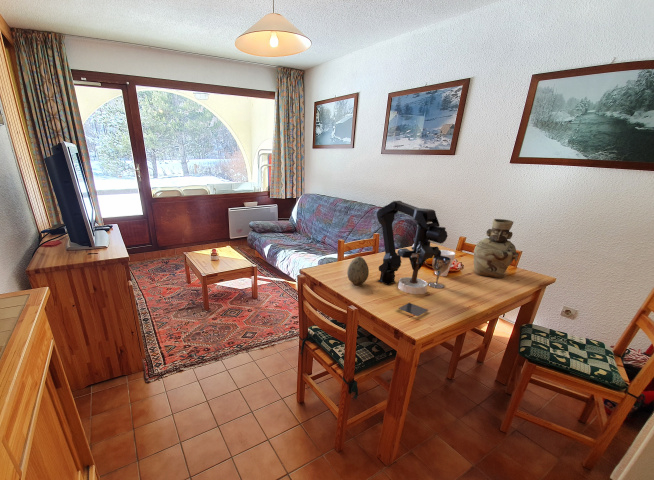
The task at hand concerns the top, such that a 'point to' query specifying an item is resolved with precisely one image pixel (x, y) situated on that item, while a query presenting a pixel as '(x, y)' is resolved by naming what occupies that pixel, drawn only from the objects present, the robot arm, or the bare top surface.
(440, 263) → the wine glass
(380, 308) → the top surface
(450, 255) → the foam cup
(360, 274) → the decorative egg
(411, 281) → the stirring stick
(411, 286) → the bowl
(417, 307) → the coaster
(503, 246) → the ceramic vessel
